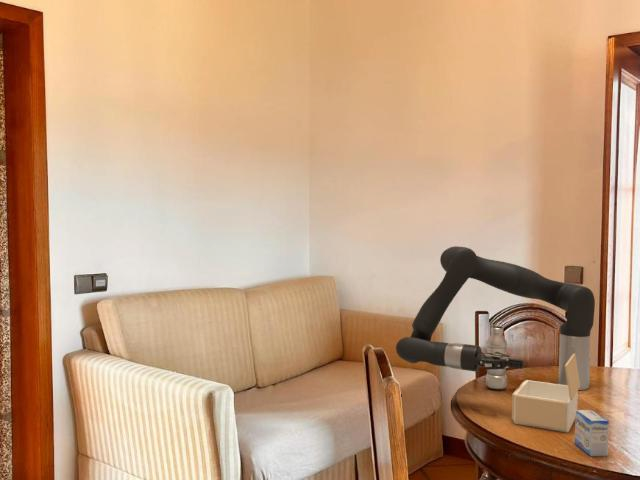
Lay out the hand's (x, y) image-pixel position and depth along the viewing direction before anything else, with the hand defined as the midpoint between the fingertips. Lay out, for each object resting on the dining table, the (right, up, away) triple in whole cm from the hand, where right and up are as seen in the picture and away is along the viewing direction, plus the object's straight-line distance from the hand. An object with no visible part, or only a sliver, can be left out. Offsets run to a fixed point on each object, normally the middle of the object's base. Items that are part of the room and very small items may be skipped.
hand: (523, 364), depth 177 cm
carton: (+5, -15, -2) cm, 16 cm away
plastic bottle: (0, -13, +26) cm, 29 cm away
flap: (+11, -2, -6) cm, 13 cm away
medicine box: (+9, -16, -24) cm, 30 cm away
